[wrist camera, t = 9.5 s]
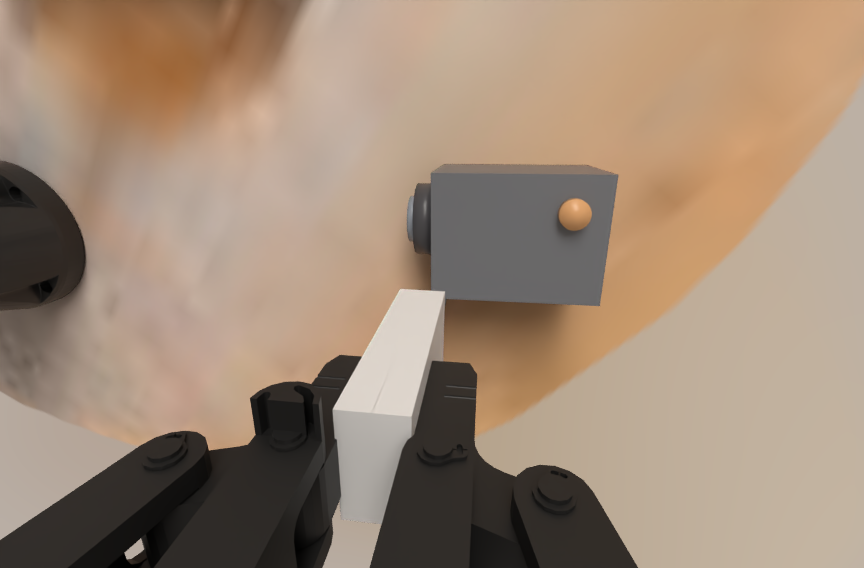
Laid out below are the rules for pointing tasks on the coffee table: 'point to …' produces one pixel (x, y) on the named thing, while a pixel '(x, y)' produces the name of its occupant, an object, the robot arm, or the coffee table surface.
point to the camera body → (515, 231)
